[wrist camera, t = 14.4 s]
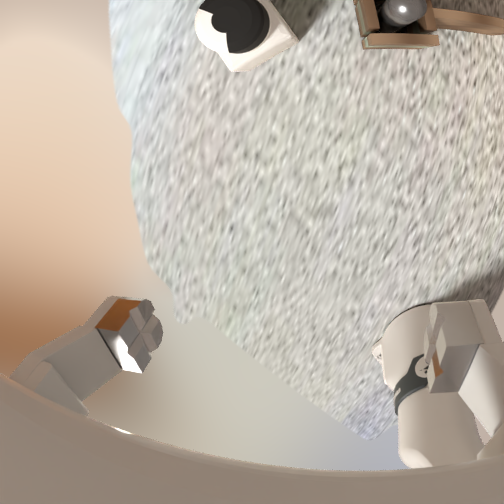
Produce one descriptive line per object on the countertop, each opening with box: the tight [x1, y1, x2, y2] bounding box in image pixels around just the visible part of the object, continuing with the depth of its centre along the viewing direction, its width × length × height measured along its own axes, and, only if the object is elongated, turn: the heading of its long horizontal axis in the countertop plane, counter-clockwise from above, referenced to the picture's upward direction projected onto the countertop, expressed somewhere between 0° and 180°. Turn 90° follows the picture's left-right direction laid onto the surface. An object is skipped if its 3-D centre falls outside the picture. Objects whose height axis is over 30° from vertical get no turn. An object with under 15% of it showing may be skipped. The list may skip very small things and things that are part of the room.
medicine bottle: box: [195, 0, 299, 72], centre depth 26 cm, size 7×7×12 cm
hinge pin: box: [377, 0, 427, 33], centre depth 21 cm, size 3×3×12 cm
